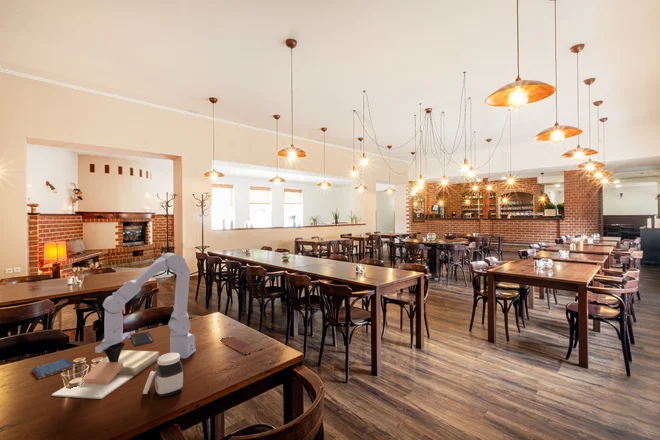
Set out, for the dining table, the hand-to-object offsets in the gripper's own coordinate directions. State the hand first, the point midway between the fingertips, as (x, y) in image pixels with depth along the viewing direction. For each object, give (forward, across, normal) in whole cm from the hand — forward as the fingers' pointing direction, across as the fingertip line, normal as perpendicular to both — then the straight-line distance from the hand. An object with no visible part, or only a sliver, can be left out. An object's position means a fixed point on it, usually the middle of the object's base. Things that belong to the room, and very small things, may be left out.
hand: (113, 363), depth 118 cm
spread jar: (+4, +10, +26) cm, 28 cm away
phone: (+4, -32, -13) cm, 35 cm away
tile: (+2, +4, 0) cm, 5 cm away
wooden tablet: (+5, -32, +36) cm, 48 cm away
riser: (+4, -6, 0) cm, 7 cm away
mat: (+4, +9, 0) cm, 9 cm away
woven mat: (+5, 0, -26) cm, 26 cm away
